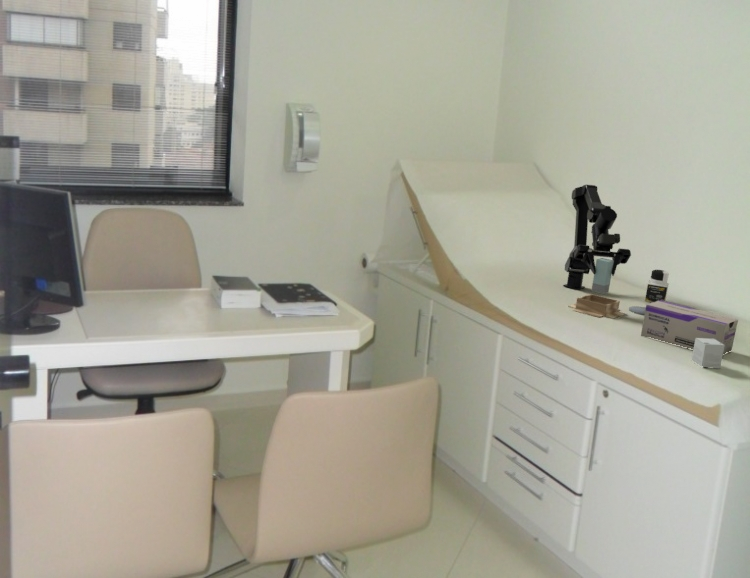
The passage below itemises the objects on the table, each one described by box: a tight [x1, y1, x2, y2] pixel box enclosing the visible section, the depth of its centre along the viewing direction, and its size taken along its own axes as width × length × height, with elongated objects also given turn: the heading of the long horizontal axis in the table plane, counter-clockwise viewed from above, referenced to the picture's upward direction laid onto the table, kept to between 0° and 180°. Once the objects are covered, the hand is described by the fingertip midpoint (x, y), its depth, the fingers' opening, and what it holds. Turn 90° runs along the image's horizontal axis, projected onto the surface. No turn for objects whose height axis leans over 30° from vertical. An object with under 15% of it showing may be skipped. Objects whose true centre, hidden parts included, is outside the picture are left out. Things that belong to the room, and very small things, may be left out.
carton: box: [568, 293, 626, 320], centre depth 291 cm, size 17×17×4 cm
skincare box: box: [690, 338, 725, 369], centre depth 240 cm, size 6×6×7 cm
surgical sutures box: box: [640, 300, 739, 354], centre depth 260 cm, size 25×11×11 cm, turn 48°
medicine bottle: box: [644, 269, 670, 303], centre depth 313 cm, size 7×7×12 cm
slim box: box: [591, 257, 614, 295], centre depth 289 cm, size 4×4×12 cm
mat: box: [628, 305, 646, 316], centre depth 296 cm, size 10×10×1 cm
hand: (603, 274), depth 287 cm, fingers closed on slim box, 6 cm apart
